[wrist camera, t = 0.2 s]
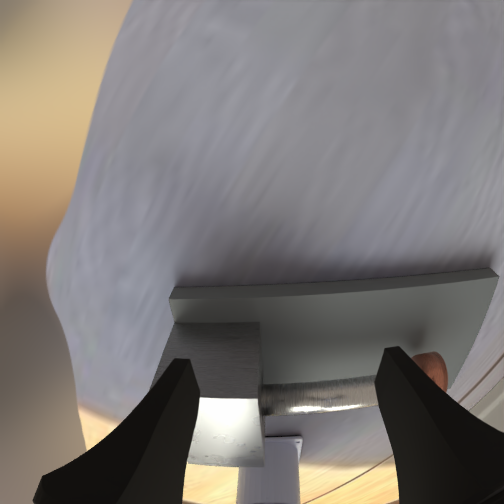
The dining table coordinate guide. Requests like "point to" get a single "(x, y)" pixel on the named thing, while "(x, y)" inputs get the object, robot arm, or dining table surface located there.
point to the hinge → (492, 407)
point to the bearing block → (223, 390)
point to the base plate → (349, 321)
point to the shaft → (339, 391)
